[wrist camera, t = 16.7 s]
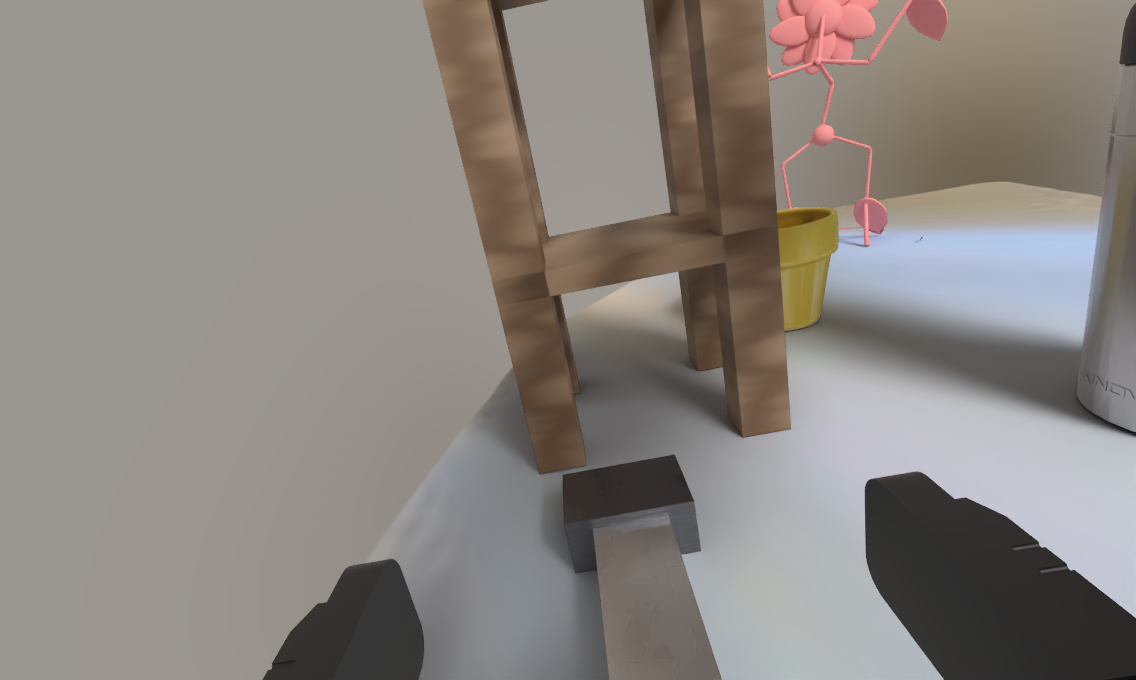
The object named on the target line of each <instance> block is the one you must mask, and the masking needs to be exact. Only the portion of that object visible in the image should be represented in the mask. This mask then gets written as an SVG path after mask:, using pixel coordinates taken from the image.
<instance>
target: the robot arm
mask: <svg viewBox="0 0 1136 680" xmlns="http://www.w3.org/2000/svg"><path fill="white" fill-rule="evenodd" d="M1120 64H1125V65H1124V66H1121V67H1120V68H1119V70H1118V78H1117V86H1116V93H1115V101H1114V108H1113V116H1112V124H1111V131H1110V133H1112V134H1111V135H1110V142H1109V149H1108V157H1107V164H1106V172H1105V180H1104V187H1103V195H1102V202H1101V210H1100V218H1099V225H1098V233H1097V241H1096V248H1095V256H1094V264H1093V271H1092V279H1091V286H1090V294H1089V302H1088V309H1087V317H1086V325H1085V331H1084V338H1083V346H1082V354H1081V362H1080V369H1079V377H1078V385H1077V397H1078V399H1079V400H1080V402H1081V403H1082V405H1084V406H1085V407H1086V408H1087V409H1089V410H1090V411H1091V412H1092V413H1094V414H1096V415H1097V416H1099V417H1101V418H1103V419H1105V420H1107V421H1108V422H1111V423H1113V424H1116V425H1118V426H1121V427H1123V428H1125V429H1128V430H1130V431H1134V432H1136V4H1135V5H1134V6H1133V7H1132V9H1131V10H1130V13H1129V15H1128V17H1127V19H1126V23H1125V27H1124V32H1123V40H1122V48H1121V56H1120ZM865 534H866V559H867V564H868V568H869V571H870V574H871V577H872V579H873V581H874V584H875V585H876V587H877V589H878V591H879V593H880V594H881V596H882V597H883V598H884V600H885V601H886V603H887V604H888V605H889V607H890V608H891V609H892V611H893V612H894V613H895V615H896V616H897V617H898V619H899V620H900V621H901V623H902V624H903V625H904V627H905V628H906V629H907V631H908V632H909V633H910V635H911V636H912V637H913V639H914V640H915V641H916V643H917V644H918V645H919V647H920V648H921V649H922V651H923V652H924V653H925V655H926V656H927V657H928V659H929V660H930V661H931V663H932V664H933V665H934V667H935V668H936V669H937V671H938V672H939V673H940V675H941V676H942V677H943V679H944V680H1136V618H1135V617H1134V616H1132V615H1131V614H1130V613H1128V612H1127V611H1126V610H1125V609H1123V608H1122V607H1121V606H1120V605H1118V604H1117V603H1116V602H1114V601H1113V600H1112V599H1111V598H1109V597H1108V596H1107V595H1106V594H1104V593H1103V592H1102V591H1100V590H1099V589H1098V588H1097V587H1095V586H1094V585H1093V584H1092V583H1090V582H1089V581H1088V580H1086V579H1085V578H1084V577H1083V576H1081V575H1080V574H1079V573H1078V572H1076V571H1075V570H1072V571H1070V570H1069V569H1068V567H1067V564H1066V563H1065V562H1064V561H1062V560H1061V559H1060V558H1058V557H1057V556H1056V555H1055V554H1053V553H1052V552H1051V551H1049V550H1048V549H1047V548H1046V547H1044V548H1041V547H1040V545H1039V542H1038V541H1037V540H1035V539H1034V538H1033V537H1032V536H1030V535H1029V534H1028V533H1027V532H1025V531H1024V530H1023V529H1021V528H1020V527H1019V526H1018V525H1016V524H1015V523H1014V522H1013V521H1011V520H1010V519H1009V518H1007V517H1006V516H1004V515H1002V514H1000V513H998V512H996V511H993V510H991V509H989V508H987V507H985V506H983V505H981V504H978V503H976V502H974V501H972V500H970V499H968V498H960V499H954V498H953V497H951V496H950V495H949V494H948V493H947V492H945V491H944V490H943V489H942V488H941V487H940V486H938V485H937V484H936V483H935V482H934V481H932V480H931V479H930V478H929V477H928V476H926V475H925V474H923V473H921V472H910V473H904V474H899V475H893V476H887V477H881V478H875V479H870V480H868V482H867V483H866V486H865ZM423 655H424V638H423V631H422V626H421V623H420V620H419V618H418V615H417V612H416V609H415V607H414V604H413V601H412V598H411V596H410V593H409V590H408V587H407V585H406V582H405V579H404V576H403V574H402V571H401V568H400V566H399V564H398V563H397V562H396V561H395V560H394V559H389V560H383V561H377V562H371V563H365V564H359V565H354V566H349V567H348V568H346V569H345V570H344V572H343V574H342V575H341V577H340V579H339V581H338V583H337V584H336V586H335V588H334V590H333V592H332V594H331V596H330V597H329V600H328V601H327V602H326V603H320V604H317V605H316V606H315V607H314V608H313V609H312V610H311V611H310V612H309V613H308V615H306V616H305V617H304V619H302V620H301V622H300V623H299V624H298V625H297V626H296V627H295V628H294V629H293V630H292V631H291V632H290V634H289V635H288V637H287V639H286V640H285V642H284V644H283V646H282V647H281V649H280V651H279V652H278V654H277V656H276V658H275V659H274V661H273V663H272V669H271V670H268V671H267V673H266V675H265V677H264V678H263V680H418V679H419V675H420V672H421V668H422V663H423Z"/></svg>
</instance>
